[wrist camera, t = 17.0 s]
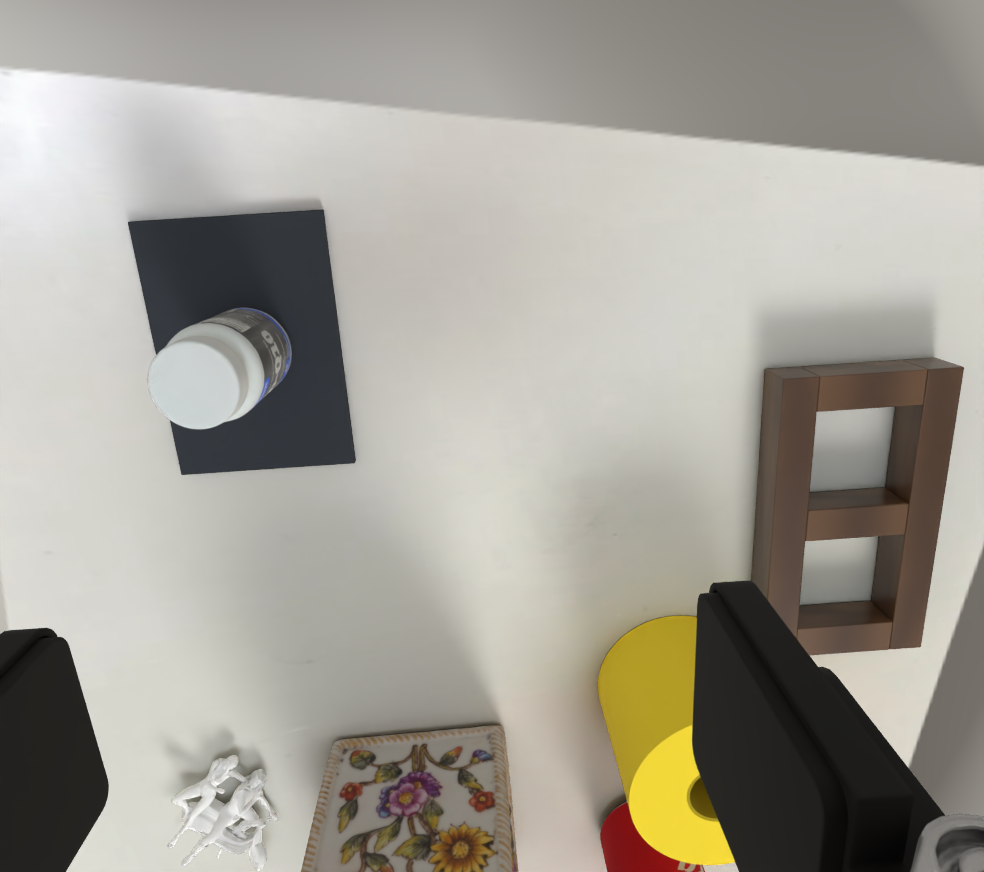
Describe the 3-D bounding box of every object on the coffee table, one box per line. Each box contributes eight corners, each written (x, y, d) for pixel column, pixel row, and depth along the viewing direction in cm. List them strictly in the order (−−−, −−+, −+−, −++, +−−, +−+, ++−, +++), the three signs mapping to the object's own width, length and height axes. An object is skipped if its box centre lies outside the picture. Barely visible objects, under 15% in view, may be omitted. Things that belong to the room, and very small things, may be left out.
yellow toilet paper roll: (773, 640, 46) (848, 746, 37) (707, 758, 49) (761, 882, 40) (634, 597, 45) (676, 695, 36) (574, 720, 47) (600, 840, 38)
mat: (131, 221, 36) (127, 221, 36) (323, 209, 37) (322, 209, 36) (184, 472, 41) (181, 475, 40) (355, 460, 41) (354, 463, 41)
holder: (747, 635, 46) (762, 659, 43) (764, 368, 40) (783, 379, 38) (897, 624, 46) (921, 647, 44) (935, 357, 40) (964, 366, 38)
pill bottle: (293, 395, 39) (248, 443, 31) (206, 387, 39) (139, 434, 31) (294, 310, 38) (248, 338, 30) (204, 301, 37) (134, 327, 30)
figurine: (218, 730, 47) (318, 790, 48) (159, 807, 49) (258, 863, 50) (200, 762, 44) (307, 825, 45) (138, 843, 46) (244, 901, 47)
